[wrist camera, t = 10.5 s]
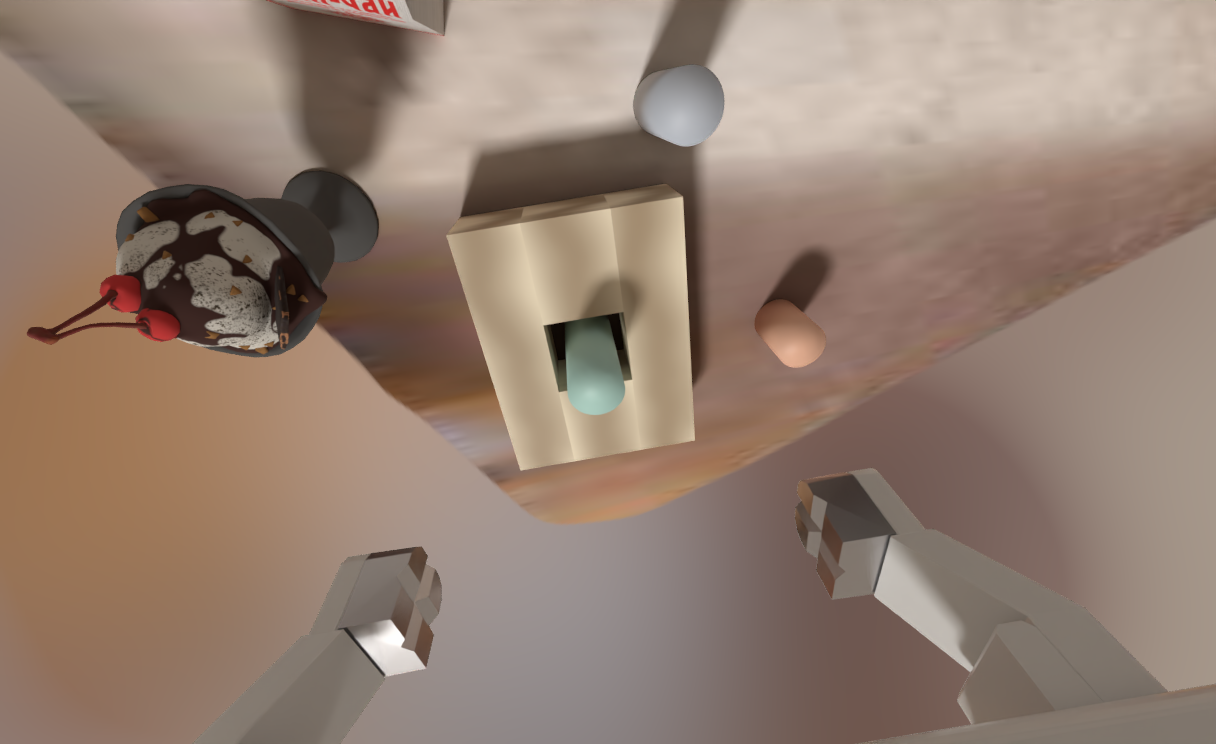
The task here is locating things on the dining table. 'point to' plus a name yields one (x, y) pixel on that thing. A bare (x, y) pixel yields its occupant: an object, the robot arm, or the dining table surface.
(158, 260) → the sundae
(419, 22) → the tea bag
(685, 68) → the medium dowel
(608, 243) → the hole block
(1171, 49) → the dining table surface
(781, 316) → the short dowel
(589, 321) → the long dowel
